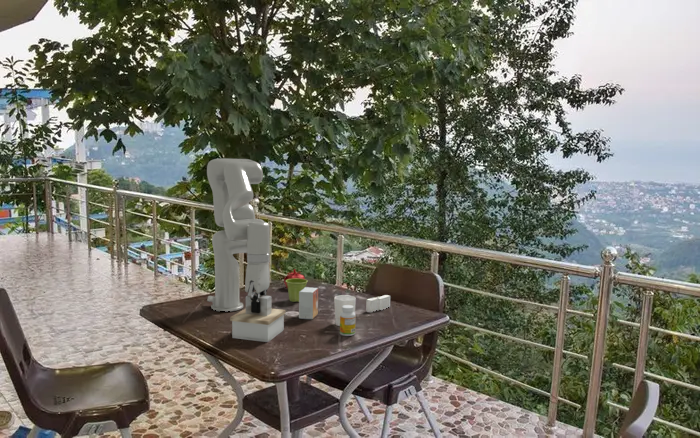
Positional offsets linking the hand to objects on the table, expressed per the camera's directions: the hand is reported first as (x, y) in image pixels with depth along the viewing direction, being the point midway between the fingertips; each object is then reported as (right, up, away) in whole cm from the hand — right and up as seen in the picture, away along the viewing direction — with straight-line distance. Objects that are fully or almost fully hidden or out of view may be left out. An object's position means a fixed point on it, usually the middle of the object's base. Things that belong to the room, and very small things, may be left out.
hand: (258, 310), depth 175 cm
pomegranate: (+5, -2, +67) cm, 67 cm away
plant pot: (+8, -4, +45) cm, 46 cm away
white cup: (+29, -8, +13) cm, 33 cm away
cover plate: (0, -2, 0) cm, 2 cm away
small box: (+15, -6, +22) cm, 28 cm away
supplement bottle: (+30, -9, +3) cm, 32 cm away
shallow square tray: (0, -8, +1) cm, 8 cm away
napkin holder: (+42, -6, +34) cm, 54 cm away
